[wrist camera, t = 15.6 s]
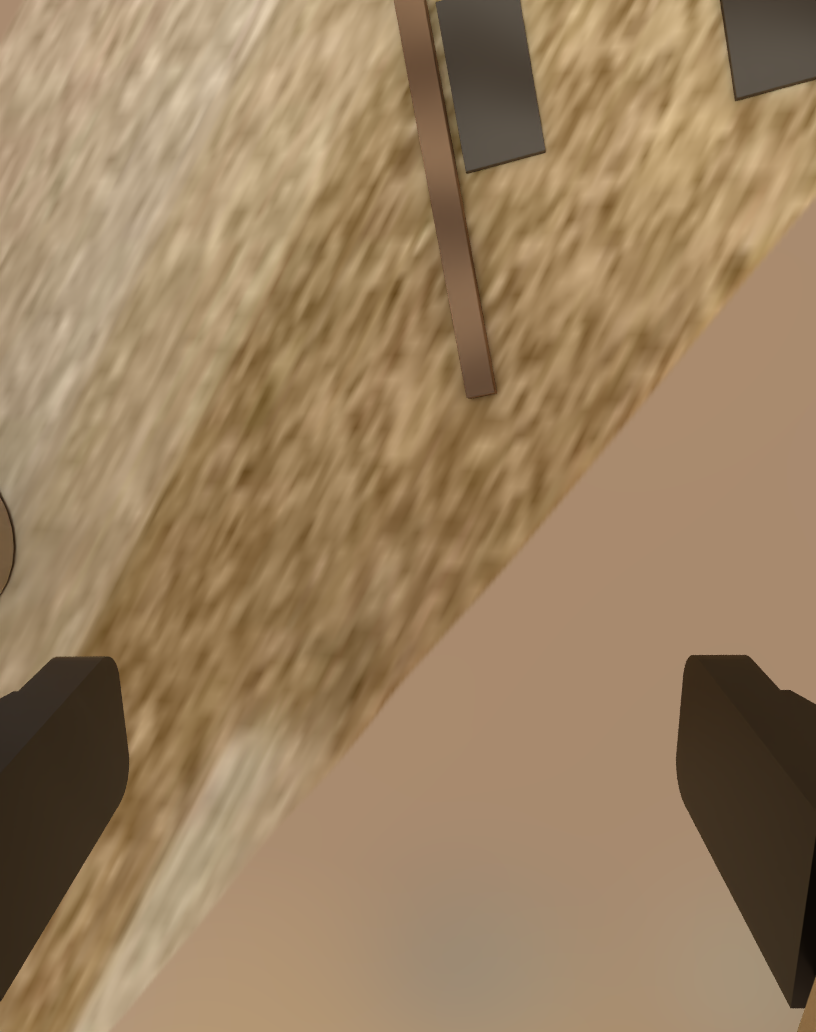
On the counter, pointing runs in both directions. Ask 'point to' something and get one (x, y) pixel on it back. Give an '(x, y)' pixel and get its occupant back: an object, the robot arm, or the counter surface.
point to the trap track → (515, 116)
